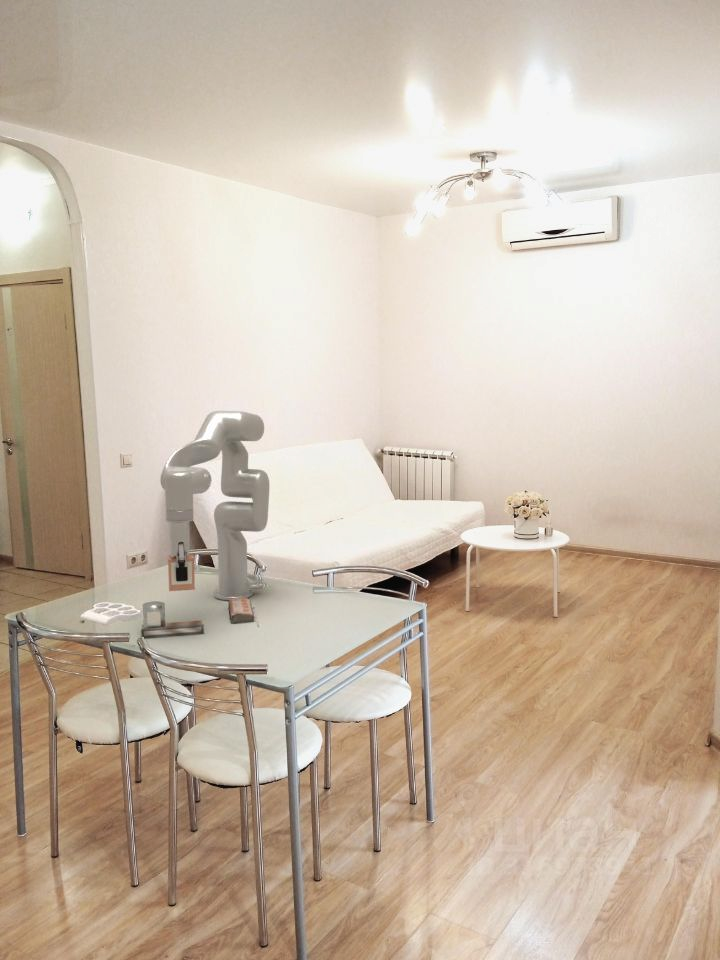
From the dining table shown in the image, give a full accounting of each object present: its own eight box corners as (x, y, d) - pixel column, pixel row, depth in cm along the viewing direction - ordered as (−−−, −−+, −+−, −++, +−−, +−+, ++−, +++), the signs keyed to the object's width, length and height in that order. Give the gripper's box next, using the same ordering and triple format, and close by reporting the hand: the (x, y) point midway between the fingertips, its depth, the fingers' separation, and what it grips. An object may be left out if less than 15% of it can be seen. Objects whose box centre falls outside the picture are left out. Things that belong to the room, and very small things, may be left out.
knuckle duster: (73, 621, 243) (112, 609, 255) (113, 632, 233) (152, 619, 246) (73, 610, 243) (112, 598, 255) (112, 621, 233) (151, 608, 245)
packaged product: (222, 597, 252) (254, 595, 254) (222, 612, 252) (254, 610, 254) (224, 615, 234) (258, 613, 236) (224, 631, 235) (258, 629, 237)
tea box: (193, 584, 232) (193, 554, 231) (194, 589, 227) (194, 558, 226) (168, 586, 230) (168, 555, 229) (169, 591, 226) (168, 559, 224)
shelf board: (201, 624, 239) (201, 612, 239) (204, 637, 228) (203, 625, 227) (142, 628, 235) (141, 616, 235) (141, 642, 224) (141, 630, 223)
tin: (165, 627, 233) (164, 600, 232) (165, 634, 227) (164, 606, 226) (143, 629, 231) (142, 602, 230) (143, 635, 226) (142, 608, 225)
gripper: (165, 510, 233) (167, 571, 236) (166, 521, 217) (168, 587, 219) (192, 509, 235) (193, 570, 238) (194, 520, 219) (196, 585, 221)
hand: (181, 577), depth 228 cm, fingers closed on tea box, 5 cm apart
